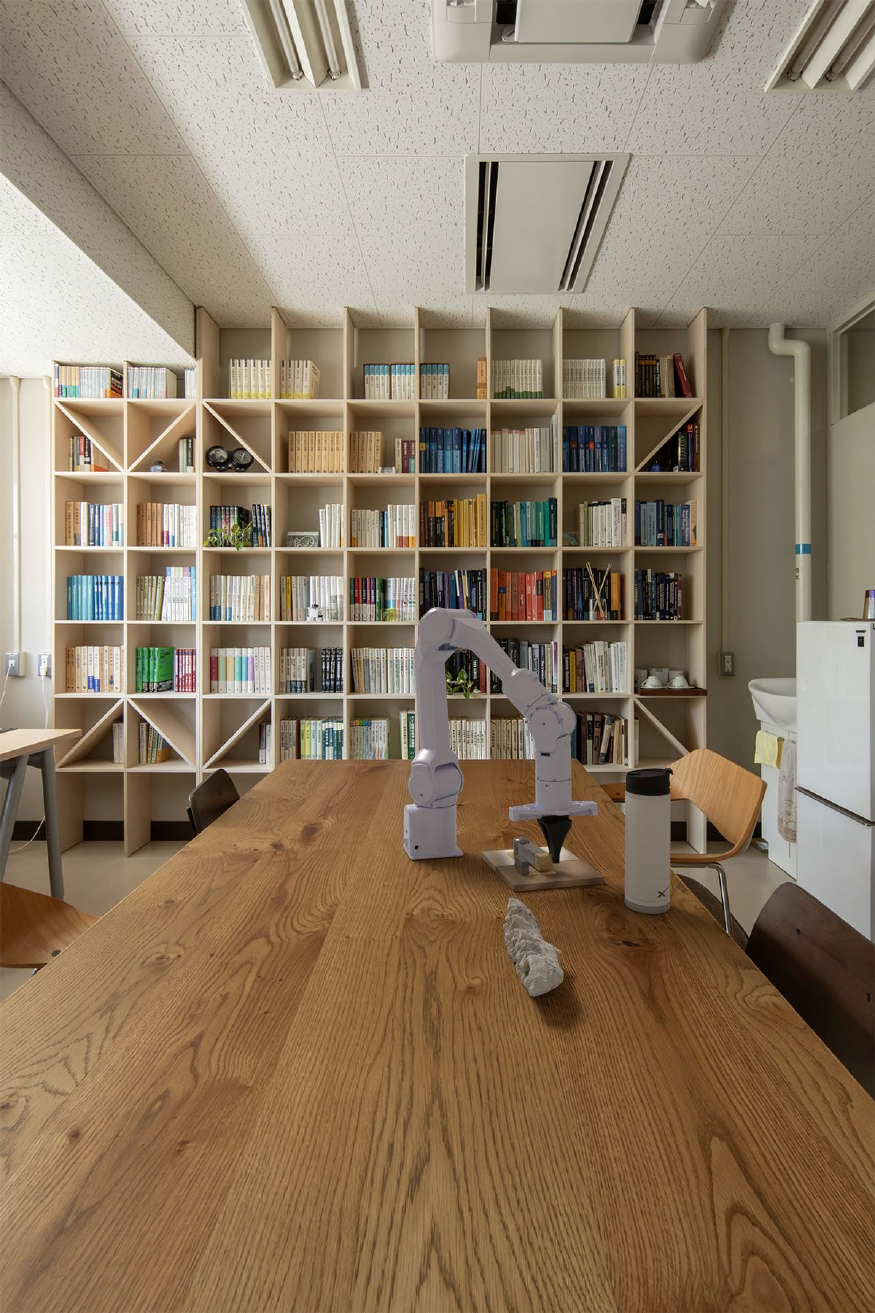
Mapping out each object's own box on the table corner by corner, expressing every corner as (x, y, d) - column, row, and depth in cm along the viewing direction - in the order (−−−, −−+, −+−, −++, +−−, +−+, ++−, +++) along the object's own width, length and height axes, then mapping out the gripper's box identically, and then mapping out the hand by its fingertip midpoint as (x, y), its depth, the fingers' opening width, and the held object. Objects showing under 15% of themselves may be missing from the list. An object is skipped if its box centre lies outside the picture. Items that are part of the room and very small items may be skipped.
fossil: (497, 932, 93) (497, 894, 93) (542, 930, 93) (542, 893, 93) (525, 1017, 72) (525, 969, 72) (583, 1015, 72) (583, 967, 72)
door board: (513, 891, 107) (513, 871, 107) (481, 857, 123) (481, 839, 123) (603, 883, 110) (604, 863, 110) (561, 851, 127) (561, 833, 127)
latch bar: (510, 852, 122) (510, 837, 122) (525, 851, 123) (525, 836, 122) (538, 872, 112) (538, 855, 112) (553, 870, 113) (554, 853, 113)
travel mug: (675, 916, 97) (676, 773, 97) (626, 913, 98) (626, 771, 98) (669, 899, 103) (670, 765, 103) (623, 896, 105) (623, 763, 104)
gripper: (519, 785, 107) (520, 873, 108) (605, 780, 111) (606, 865, 111) (504, 777, 114) (505, 860, 115) (586, 772, 118) (587, 852, 118)
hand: (554, 861), depth 113 cm, fingers closed
